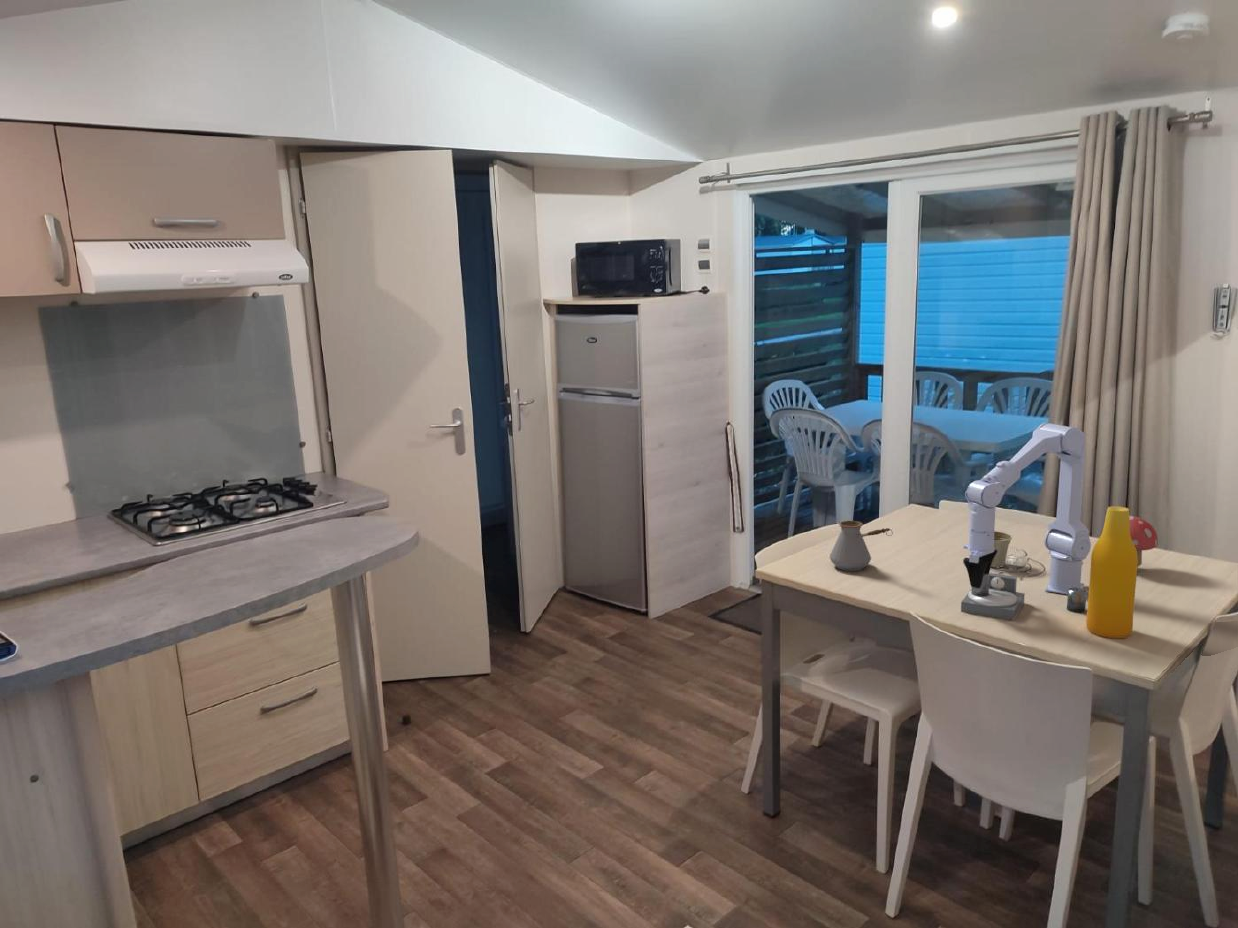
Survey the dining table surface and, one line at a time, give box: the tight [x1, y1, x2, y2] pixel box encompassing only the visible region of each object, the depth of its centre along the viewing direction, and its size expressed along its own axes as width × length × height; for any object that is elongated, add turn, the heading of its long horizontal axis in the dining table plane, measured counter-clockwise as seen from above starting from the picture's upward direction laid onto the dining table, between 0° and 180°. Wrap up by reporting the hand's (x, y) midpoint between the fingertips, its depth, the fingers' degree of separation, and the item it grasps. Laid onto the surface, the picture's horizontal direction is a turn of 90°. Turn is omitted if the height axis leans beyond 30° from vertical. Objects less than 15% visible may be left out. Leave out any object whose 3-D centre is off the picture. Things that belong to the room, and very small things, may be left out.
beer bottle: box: [1085, 505, 1139, 639], centre depth 197 cm, size 9×9×29 cm
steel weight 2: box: [1066, 588, 1088, 614], centre depth 212 cm, size 4×4×5 cm
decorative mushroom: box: [1129, 515, 1159, 568], centre depth 237 cm, size 13×13×15 cm
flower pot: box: [991, 530, 1013, 569], centre depth 246 cm, size 9×9×9 cm
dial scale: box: [960, 572, 1025, 621], centre depth 216 cm, size 13×12×6 cm
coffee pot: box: [829, 520, 894, 572], centre depth 245 cm, size 21×12×15 cm, turn 27°
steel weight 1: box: [970, 572, 990, 597], centre depth 216 cm, size 4×4×5 cm
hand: (979, 582), depth 216 cm, fingers open, 7 cm apart
